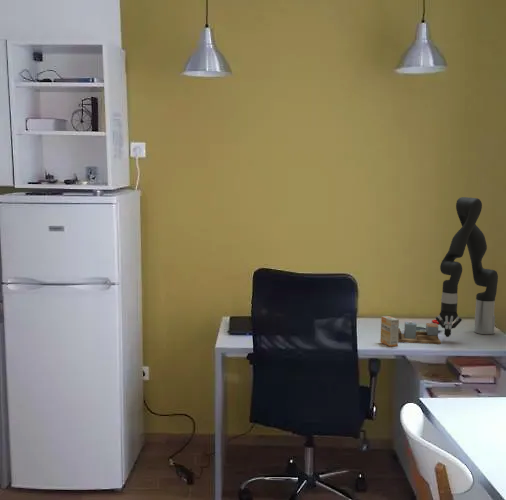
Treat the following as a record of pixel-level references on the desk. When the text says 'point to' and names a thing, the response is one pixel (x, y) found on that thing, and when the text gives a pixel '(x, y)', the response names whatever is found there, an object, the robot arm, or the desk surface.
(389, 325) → the supplement box
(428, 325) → the grey cube
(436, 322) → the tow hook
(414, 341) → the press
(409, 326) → the block
